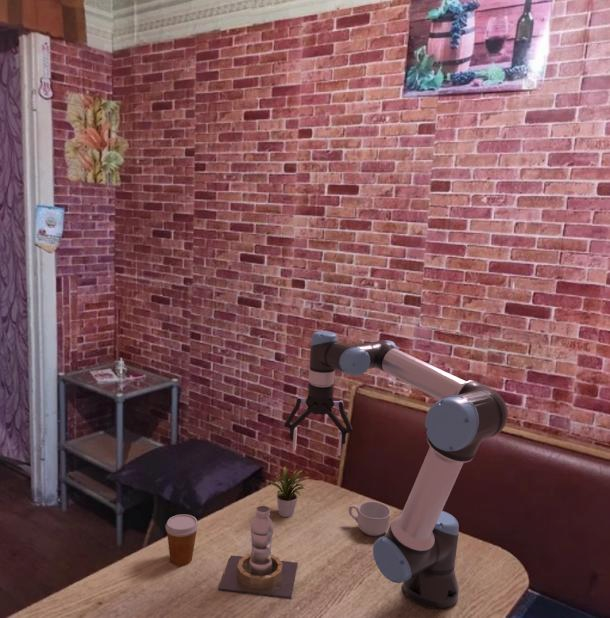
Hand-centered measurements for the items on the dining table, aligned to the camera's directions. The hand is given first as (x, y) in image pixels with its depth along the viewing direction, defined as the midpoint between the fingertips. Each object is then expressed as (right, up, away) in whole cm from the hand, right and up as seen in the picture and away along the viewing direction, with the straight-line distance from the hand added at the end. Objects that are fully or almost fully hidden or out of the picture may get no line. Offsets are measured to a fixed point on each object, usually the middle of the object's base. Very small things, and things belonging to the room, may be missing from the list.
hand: (316, 451), depth 179 cm
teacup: (+17, -31, +18) cm, 40 cm away
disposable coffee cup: (-40, -31, -5) cm, 51 cm away
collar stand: (-16, -33, -11) cm, 38 cm away
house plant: (-10, -28, +25) cm, 38 cm away
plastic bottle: (-16, -32, -11) cm, 38 cm away
